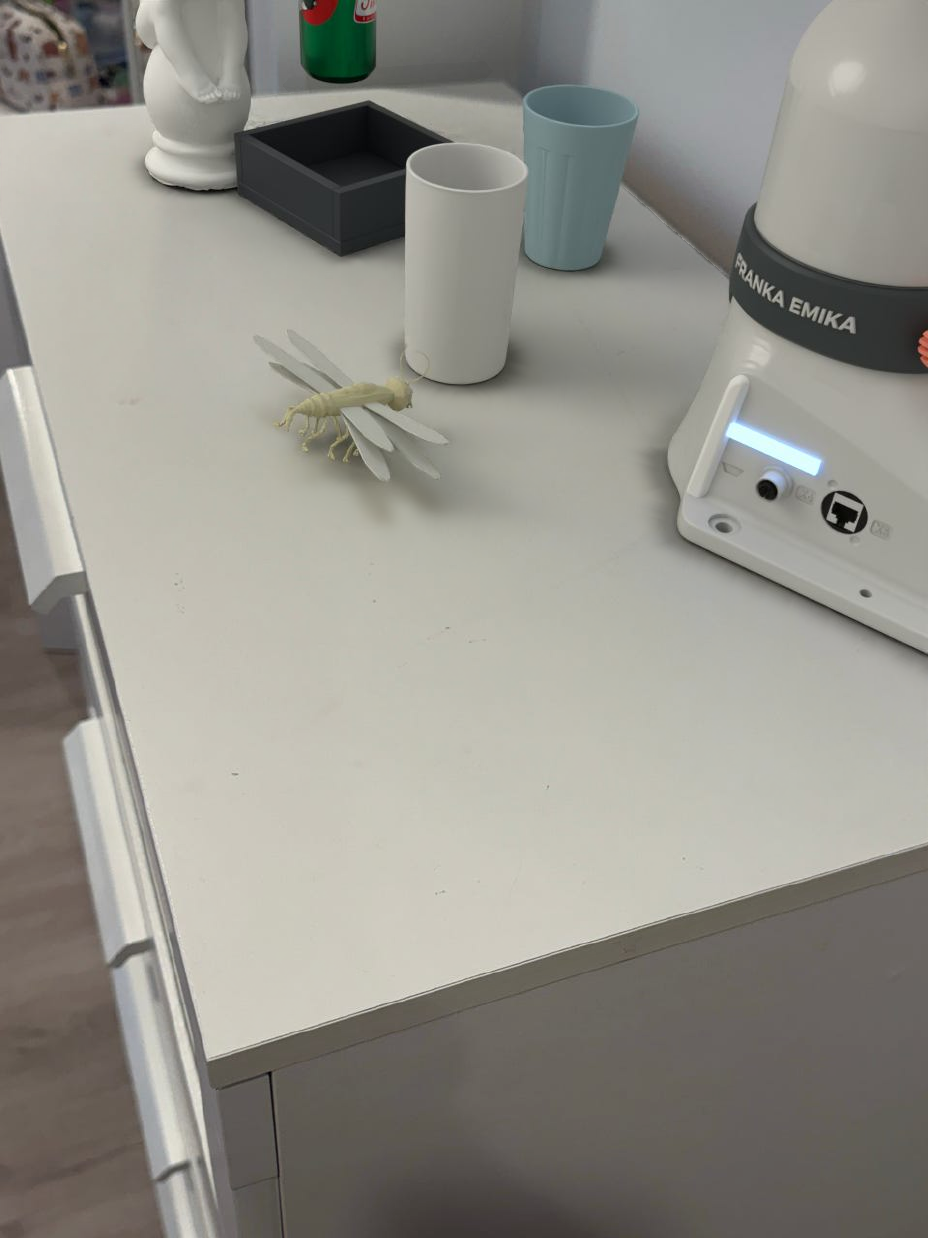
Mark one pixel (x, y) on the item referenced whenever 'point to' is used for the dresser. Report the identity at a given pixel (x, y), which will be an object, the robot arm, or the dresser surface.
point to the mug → (461, 258)
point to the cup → (573, 170)
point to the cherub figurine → (195, 89)
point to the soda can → (338, 39)
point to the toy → (353, 407)
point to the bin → (333, 172)
